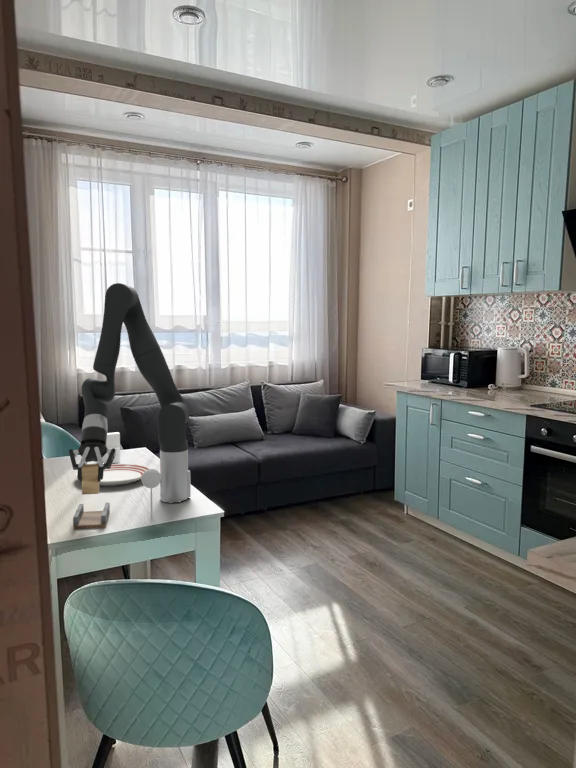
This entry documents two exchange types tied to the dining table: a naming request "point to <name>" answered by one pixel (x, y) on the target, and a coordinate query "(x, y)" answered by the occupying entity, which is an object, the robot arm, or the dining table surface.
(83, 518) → the walnut track
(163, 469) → the robot arm
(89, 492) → the oak block
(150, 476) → the lollipop
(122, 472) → the dinner plate
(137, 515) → the dining table surface
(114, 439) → the base with upright slab
